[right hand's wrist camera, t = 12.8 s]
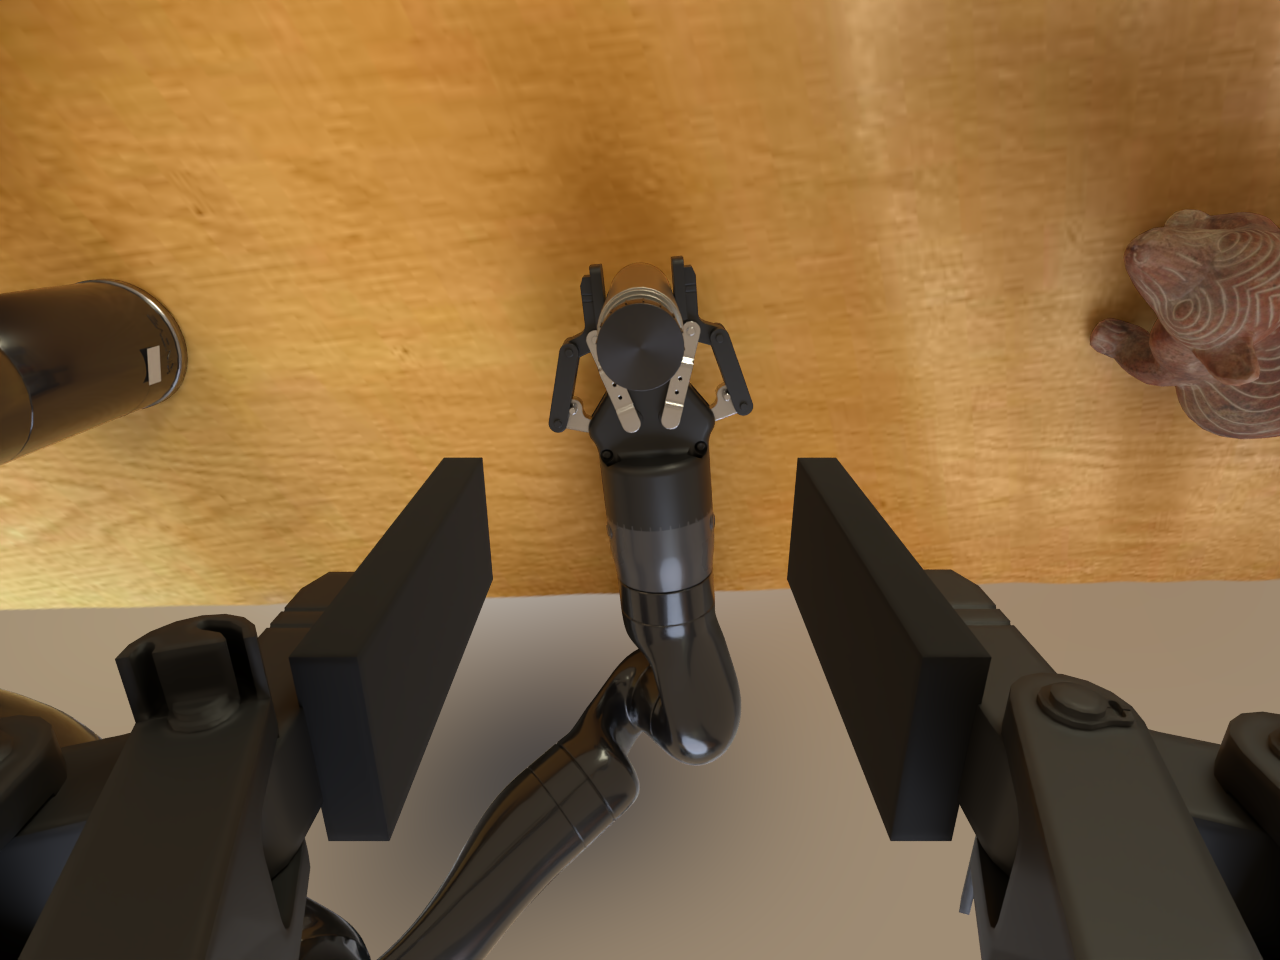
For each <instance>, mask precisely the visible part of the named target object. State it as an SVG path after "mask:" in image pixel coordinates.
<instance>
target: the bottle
mask: <svg viewBox="0 0 1280 960" xmlns="http://www.w3.org/2000/svg"><path fill="white" fill-rule="evenodd" d="M643 298H644V299H646V300H651V301H654V302H657V303H659V302H660V303H661V305H663V306H664V307H666V308H667V309H668V310H669V311H670V312H671V313H674V315H675V318H676V320H677V321H678V323H679V325H680V328H682V330H683V333H684V328H683V321H682V317H681V314H680V311H679V309H678V306H677V303H676V301H675V298H674V295H673V293H672V290H671V287H670V285H669V282H668V280H667V278H666V277H665V275H664V274H663V273H662V272H661V271H660V270H659V269H658V268H656V267H655V266H653V265H650V264H646V263H634V264H631V265H628V266H626V267H624V268H623V269H621V270H620V271H619V272H618V273H617V275H616V276H615V278H614V279H613V281H612V284H611V286H610V289H609V292H608V295H607V297H606V300H605V303H604V305H603V308H602V311H601V313H600V316H599V320H598V325H597V336H598V334H599V331H600V324H601V322H602V323H603V321H604V319H605V318H606V316H607V315H608V314H609V313H610V310H611V309H614V308H615V307H617V306H618V305H620V304H622V303H624V302H625V300H627V301H630V300H635V299H643ZM683 333H682V334H683Z"/></svg>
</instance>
